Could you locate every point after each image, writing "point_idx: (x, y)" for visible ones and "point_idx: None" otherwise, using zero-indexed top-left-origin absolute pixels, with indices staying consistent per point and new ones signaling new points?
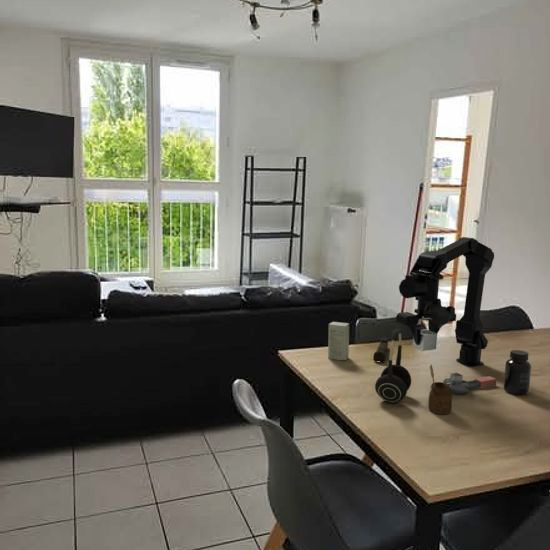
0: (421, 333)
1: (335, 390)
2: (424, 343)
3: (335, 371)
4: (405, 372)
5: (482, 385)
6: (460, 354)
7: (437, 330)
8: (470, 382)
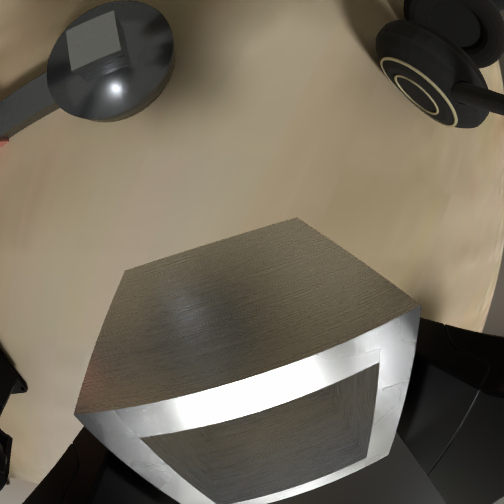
0: (390, 391)
1: (496, 161)
2: (321, 247)
3: (455, 293)
4: (439, 33)
5: None
6: (6, 390)
7: (67, 481)
8: (25, 102)
